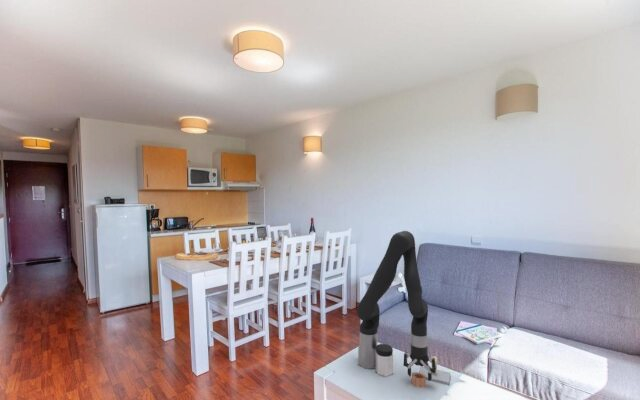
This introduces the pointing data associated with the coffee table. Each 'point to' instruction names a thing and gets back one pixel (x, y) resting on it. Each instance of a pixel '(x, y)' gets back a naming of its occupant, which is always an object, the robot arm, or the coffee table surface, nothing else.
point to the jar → (384, 359)
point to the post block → (437, 374)
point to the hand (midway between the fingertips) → (419, 377)
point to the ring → (418, 379)
